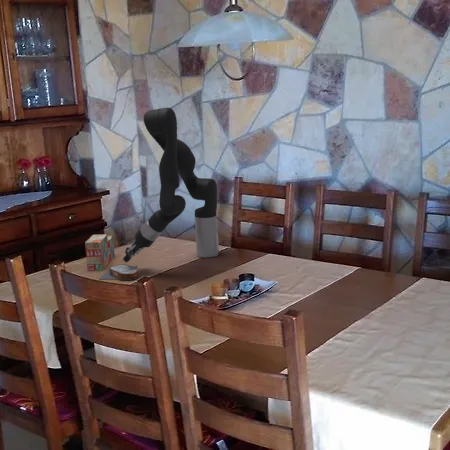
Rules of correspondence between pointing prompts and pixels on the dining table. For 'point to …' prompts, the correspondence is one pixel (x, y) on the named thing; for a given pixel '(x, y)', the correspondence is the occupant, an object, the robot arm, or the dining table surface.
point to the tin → (124, 272)
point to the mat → (107, 276)
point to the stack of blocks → (99, 252)
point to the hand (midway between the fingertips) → (125, 260)
